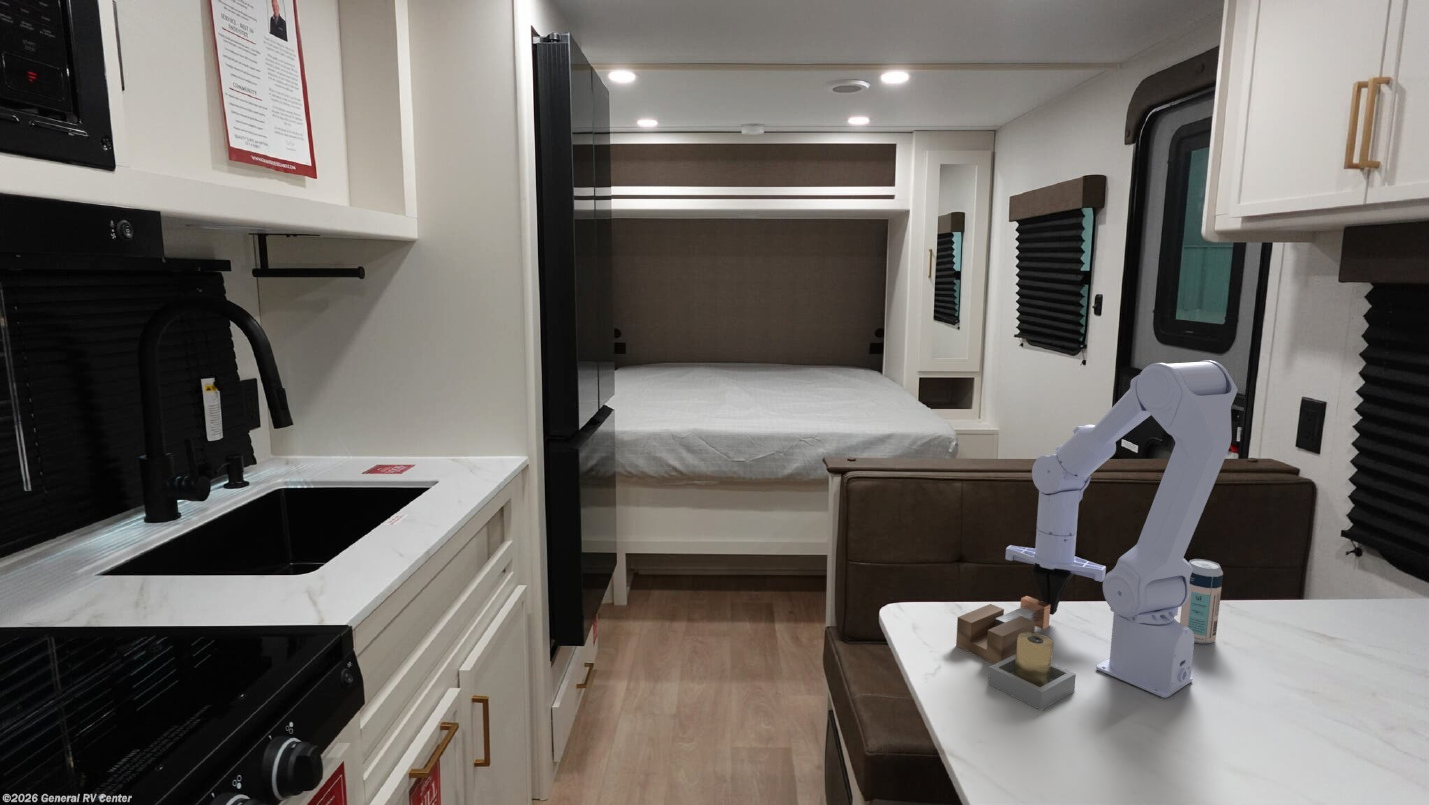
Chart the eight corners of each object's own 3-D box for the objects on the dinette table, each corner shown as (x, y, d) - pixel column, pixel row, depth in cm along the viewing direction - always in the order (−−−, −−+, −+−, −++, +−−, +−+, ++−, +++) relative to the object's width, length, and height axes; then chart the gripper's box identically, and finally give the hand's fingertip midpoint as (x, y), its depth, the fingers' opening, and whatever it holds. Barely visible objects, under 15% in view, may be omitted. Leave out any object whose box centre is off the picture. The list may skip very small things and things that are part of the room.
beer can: (1205, 631, 119) (1213, 558, 117) (1222, 646, 114) (1230, 570, 112) (1172, 630, 119) (1180, 557, 117) (1188, 645, 114) (1196, 569, 112)
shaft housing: (1033, 650, 113) (1035, 621, 112) (1000, 666, 108) (1002, 636, 107) (988, 631, 119) (990, 603, 118) (956, 645, 114) (957, 617, 114)
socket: (1074, 691, 102) (1075, 673, 101) (1040, 710, 97) (1042, 692, 97) (1021, 667, 108) (1022, 650, 108) (988, 683, 104) (989, 666, 103)
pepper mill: (1054, 683, 102) (1059, 641, 101) (1038, 694, 100) (1043, 651, 98) (1023, 669, 106) (1027, 629, 105) (1007, 680, 103) (1011, 638, 102)
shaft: (1048, 626, 118) (1050, 604, 117) (1012, 643, 112) (1013, 620, 112) (1025, 617, 121) (1027, 595, 121) (988, 633, 116) (989, 611, 115)
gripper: (1000, 526, 121) (995, 607, 123) (1099, 547, 112) (1092, 634, 114) (1016, 516, 126) (1011, 593, 128) (1112, 535, 117) (1104, 618, 119)
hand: (1050, 611), depth 121 cm, fingers closed
